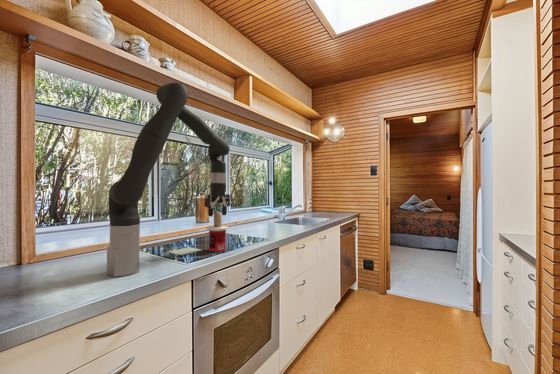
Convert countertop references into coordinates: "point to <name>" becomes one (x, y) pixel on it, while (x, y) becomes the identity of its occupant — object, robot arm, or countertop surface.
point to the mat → (184, 251)
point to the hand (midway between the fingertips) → (217, 215)
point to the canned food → (217, 240)
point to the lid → (217, 223)
